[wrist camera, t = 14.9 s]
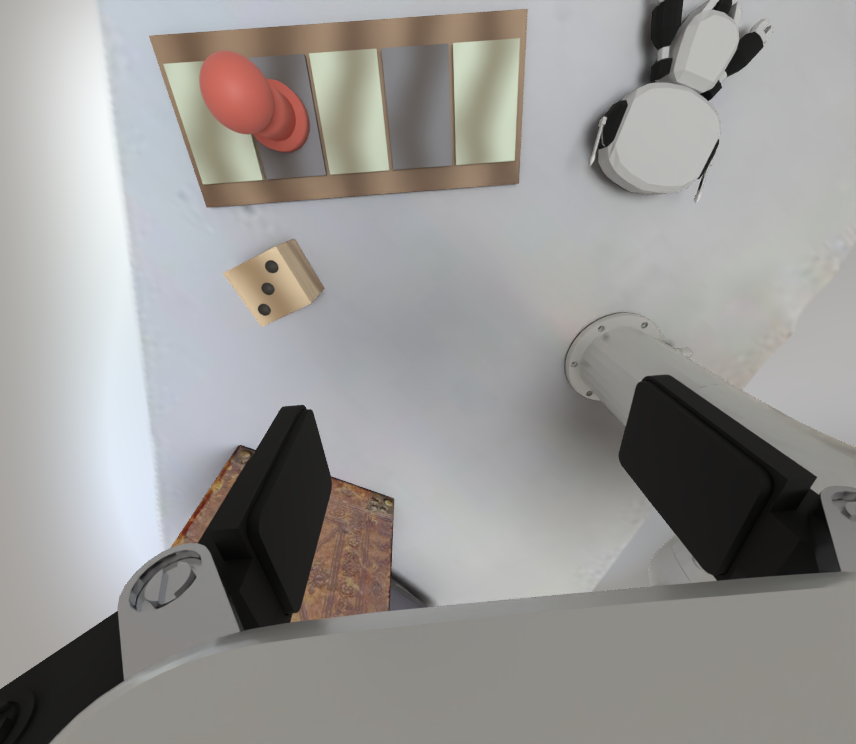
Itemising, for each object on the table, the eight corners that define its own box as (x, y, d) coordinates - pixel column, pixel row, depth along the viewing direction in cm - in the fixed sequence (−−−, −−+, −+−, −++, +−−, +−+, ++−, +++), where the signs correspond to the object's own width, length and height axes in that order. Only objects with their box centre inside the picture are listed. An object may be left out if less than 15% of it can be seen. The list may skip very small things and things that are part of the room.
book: (223, 485, 53) (37, 776, 27) (239, 443, 50) (43, 732, 23) (371, 531, 60) (342, 800, 33) (395, 498, 56) (383, 769, 30)
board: (524, 13, 30) (529, 5, 28) (516, 183, 36) (520, 183, 34) (155, 39, 29) (144, 32, 28) (210, 207, 35) (203, 207, 34)
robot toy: (639, -13, 30) (568, 175, 35) (677, -51, 26) (590, 169, 31) (750, 40, 32) (667, 210, 37) (802, 12, 28) (700, 208, 33)
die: (294, 238, 37) (275, 246, 32) (324, 288, 40) (310, 303, 34) (248, 262, 38) (222, 273, 32) (280, 309, 41) (261, 327, 35)
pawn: (302, 83, 30) (249, 28, 20) (315, 150, 32) (273, 131, 22) (245, 87, 30) (164, 34, 20) (262, 154, 32) (197, 137, 22)
